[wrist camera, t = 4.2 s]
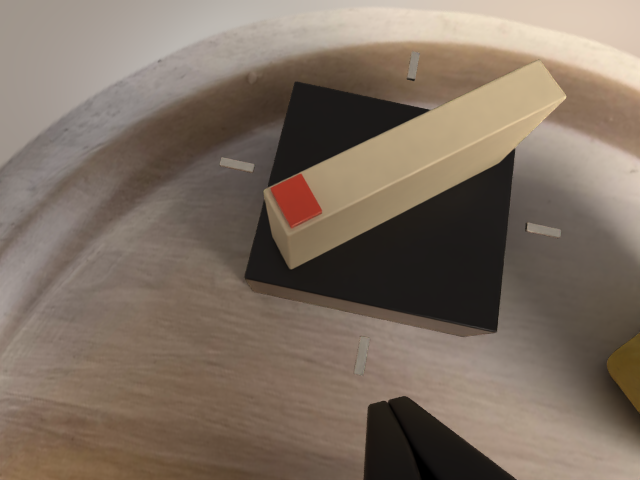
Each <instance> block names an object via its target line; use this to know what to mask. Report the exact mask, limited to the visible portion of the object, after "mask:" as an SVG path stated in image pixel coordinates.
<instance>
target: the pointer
mask: <svg viewBox="0 0 640 480" xmlns="http://www.w3.org/2000/svg"><path fill="white" fill-rule="evenodd" d="M565 98H566V95H565V93H564V92H563V91H562V89H561V88H560V86H559V85H558V84H557V82H556V81H555V80H554V78H553V77H552V76H551V74H550V73H549V72H548V70H547V69H546V68H545V66H544V65H543V63H542V62H541V61H540V60H536V61H534V62H531V63H529V64H527V65H525V66H523V67H521V68H519V69H517V70H515V71H513V72H510V73H508V74H506V75H504V76H502V77H500V78H498V79H496V80H494V81H491V82H489V83H487V84H485V85H483V86H481V87H479V88H477V89H475V90H473V91H470V92H468V93H466V94H464V95H462V96H460V97H458V98H456V99H454V100H451V101H449V102H447V103H445V104H443V105H441V106H439V107H437V108H435V109H433V110H430V111H428V112H426V113H424V114H422V115H420V116H418V117H416V118H414V119H411V120H409V121H407V122H405V123H403V124H401V125H399V126H397V127H395V128H393V129H390V130H388V131H386V132H384V133H382V134H380V135H378V136H376V137H374V138H371V139H369V140H367V141H365V142H363V143H361V144H359V145H357V146H355V147H353V148H350V149H348V150H346V151H344V152H342V153H340V154H338V155H336V156H334V157H331V158H329V159H327V160H325V161H323V162H321V163H319V164H317V165H315V166H313V167H310V168H308V169H306V170H304V171H302V172H300V173H298V174H296V175H294V176H291V177H289V178H287V179H285V180H283V181H281V182H279V183H277V184H275V185H273V186H270V187H268V188H266V189H265V190H264V191H263V193H264V198H265V203H266V208H267V213H268V217H269V222H270V227H271V232H272V237H273V239H274V241H275V243H276V245H277V246H278V248H279V250H280V252H281V254H282V256H283V258H284V260H285V262H286V264H287V265H288V267H289V269H294V268H295V267H297V266H299V265H301V264H303V263H305V262H307V261H309V260H311V259H313V258H315V257H317V256H319V255H321V254H323V253H325V252H327V251H329V250H331V249H332V248H334V247H336V246H338V245H340V244H342V243H344V242H346V241H348V240H350V239H352V238H354V237H356V236H358V235H360V234H362V233H364V232H366V231H368V230H370V229H371V228H373V227H375V226H377V225H379V224H381V223H383V222H385V221H387V220H389V219H391V218H393V217H395V216H397V215H399V214H401V213H403V212H405V211H407V210H409V209H410V208H412V207H414V206H416V205H418V204H420V203H422V202H424V201H426V200H428V199H430V198H432V197H434V196H436V195H438V194H440V193H442V192H444V191H446V190H447V189H449V188H451V187H453V186H455V185H457V184H459V183H461V182H463V181H465V180H467V179H469V178H471V177H473V176H475V175H477V174H479V173H481V172H483V171H485V170H486V169H488V168H490V167H492V166H494V165H496V164H498V163H500V162H501V161H502V160H503V159H504V158H505V157H506V156H507V155H508V154H509V153H510V152H511V151H512V150H513V149H514V148H515V147H516V146H517V145H518V144H519V143H520V142H521V141H522V140H523V139H524V138H525V137H526V136H527V135H528V134H529V133H530V132H532V131H533V130H534V129H535V128H536V127H537V126H538V125H539V124H540V123H541V122H542V121H543V120H544V119H545V118H546V117H547V116H548V115H549V114H550V113H551V112H552V111H553V110H554V109H555V108H556V107H557V106H558V105H559V104H560V103H561V102H562V101H563V100H565Z"/></svg>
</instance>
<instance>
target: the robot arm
mask: <svg viewBox="0 0 640 480" xmlns="http://www.w3.org/2000/svg"><path fill="white" fill-rule="evenodd" d="M363 480H517V479H515V478H514V477H513V476H511V475H510V474H509V473H507V472H506V471H505V470H503V469H502V468H501V467H499V466H498V465H497V464H495V463H494V462H493V461H492V460H490V459H489V458H488V457H486V456H485V455H484V454H482V453H481V452H480V451H478V450H477V449H476V448H474V447H473V446H472V445H470V444H469V443H468V442H466V441H465V440H464V439H463V438H461V437H460V436H459V435H457V434H456V433H455V432H453V431H452V430H451V429H449V428H448V427H447V426H445V425H444V424H443V423H441V422H440V421H439V420H437V419H436V418H435V417H433V416H432V415H431V414H430V413H428V412H427V411H426V410H424V409H423V408H422V407H420V406H419V405H418V404H416V403H415V402H414V401H412V400H411V399H410V398H408V397H406V396H402V397H398V398H394V399H390V400H389V401H388V403H387V402H386V401H381V402H377V403H373V404H370V405H369V406H368V413H367V429H366V446H365V462H364V479H363Z"/></svg>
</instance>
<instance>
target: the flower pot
mask: <svg viewBox="0 0 640 480" xmlns="http://www.w3.org/2000/svg"><path fill="white" fill-rule="evenodd" d="M607 369H608V371H609V374H610V375H611V377H612V378H613V379H614V381H615V382H616V383H617V385H618V386H619V387H620V388H621V390H622V391H623V392H624V394H625V395H626V396H627V398H628V399H629V400H630V401H631V403H632V404H633V406H634V407H635V408H636V410H637V411H638V412H639V413H640V333H639V334H637V335H636V336H635V337H633V338H632V339H631V340H629V341H628V342H627V343H625V344H624V345H623V346H621V347H620V348H619V349H617V350H616V351H615V352H614V353H613V354H611V356H610V357H609V359H608V361H607Z"/></svg>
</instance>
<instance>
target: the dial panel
mask: <svg viewBox="0 0 640 480" xmlns="http://www.w3.org/2000/svg"><path fill="white" fill-rule="evenodd" d="M419 55H420V53H418V52H413V51H412V53H411V58H410V63H409V69H408V74H407V80H411V81H415V78H416V72H417V66H418V60H419ZM428 111H430V110H428V109H424V108H419V107H414V106H410V105H405V104H400V103H395V102H391V101H386V100H381V99H377V98H372V97H367V96H362V95H358V94H353V93H348V92H344V91H339V90H334V89H329V88H325V87H320V86H315V85H311V84H306V83H301V82H295V83H294V86H293V90H292V94H291V97H290V101H289V105H288V109H287V113H286V117H285V121H284V125H283V129H282V132H281V136H280V140H279V144H278V148H277V152H276V156H275V160H274V164H273V168H272V171H271V175H270V179H269V183H268V187H270V186H273V185H275V184H277V183H279V182H281V181H283V180H285V179H287V178H289V177H291V176H294V175H296V174H298V173H300V172H302V171H304V170H306V169H308V168H310V167H313V166H315V165H317V164H319V163H321V162H323V161H325V160H327V159H329V158H331V157H334V156H336V155H338V154H340V153H342V152H344V151H346V150H348V149H350V148H353V147H355V146H357V145H359V144H361V143H363V142H365V141H367V140H369V139H371V138H374V137H376V136H378V135H380V134H382V133H384V132H386V131H388V130H390V129H393V128H395V127H397V126H399V125H401V124H403V123H405V122H407V121H409V120H411V119H414V118H416V117H418V116H420V115H422V114H424V113H426V112H428ZM514 157H515V148H514V149H513V150H512V151H511V152H510V153H509V154H508V155H507V156H506V157H505V158H504V159H503V160H502V161H501V162H500V163H498V164H496V165H494V166H492V167H490V168H488V169H486V170H485V171H483V172H481V173H479V174H477V175H475V176H473V177H471V178H469V179H467V180H465V181H463V182H461V183H459V184H457V185H455V186H453V187H451V188H449V189H447V190H446V191H444V192H442V193H440V194H438V195H436V196H434V197H432V198H430V199H428V200H426V201H424V202H422V203H420V204H418V205H416V206H414V207H412V208H410V209H409V210H407V211H405V212H403V213H401V214H399V215H397V216H395V217H393V218H391V219H389V220H387V221H385V222H383V223H381V224H379V225H377V226H375V227H373V228H371V229H370V230H368V231H366V232H364V233H362V234H360V235H358V236H356V237H354V238H352V239H350V240H348V241H346V242H344V243H342V244H340V245H338V246H336V247H334V248H332V249H331V250H329V251H327V252H325V253H323V254H321V255H319V256H317V257H315V258H313V259H311V260H309V261H307V262H305V263H303V264H301V265H299V266H297V267H295V268H294V269H289V267H288V265H287V264H286V262H285V260H284V258H283V256H282V254H281V252H280V250H279V248H278V246H277V245H276V243H275V241H274V239H273V237H272V232H271V227H270V222H269V217H268V213H267V208H266V203H265V199H264V203H263V206H262V210H261V214H260V218H259V222H258V226H257V230H256V234H255V238H254V241H253V245H252V249H251V253H250V257H249V261H248V265H247V269H246V273H245V280H246V281H247V283H248V284H249V286H250V287H251V289H252V290H253V291H254V292H257V293H262V294H267V295H271V296H276V297H281V298H285V299H290V300H295V301H299V302H304V303H308V304H313V305H318V306H322V307H327V308H332V309H336V310H341V311H346V312H350V313H355V314H360V315H364V316H369V317H374V318H378V319H383V320H387V321H392V322H397V323H401V324H406V325H411V326H415V327H420V328H425V329H429V330H434V331H439V332H443V333H448V334H453V335H457V336H462V337H466V336H474V335H482V334H489V333H496V332H497V325H498V315H499V305H500V295H501V285H502V275H503V265H504V255H505V246H506V236H507V226H508V216H509V206H510V196H511V186H512V176H513V166H514ZM219 165H220V166H221V167H226V168H231V169H235V170H240V171H245V172H249V173H253V172H254V168H255V164H252V163H247V162H242V161H238V160H233V159H228V158H224V157H221V161H220V164H219ZM268 187H267V188H268ZM525 231H526V232H530V233H535V234H540V235H544V236H549V237H554V238H560V237H561V229H556V228H552V227H547V226H542V225H538V224H533V223H528V222H527V223H526V228H525ZM369 341H370V338H369V337H364V336H360V340H359V346H358V351H357V357H356V362H355V368H354V374H356V375H361V376H363V375H364V370H365V364H366V358H367V353H368V347H369Z"/></svg>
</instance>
